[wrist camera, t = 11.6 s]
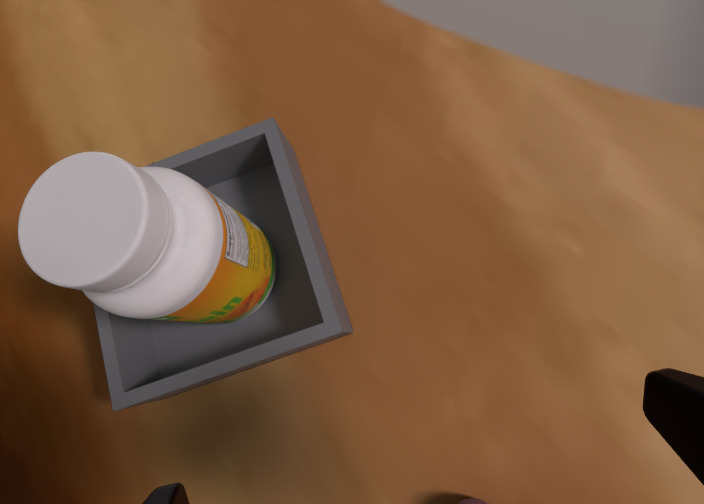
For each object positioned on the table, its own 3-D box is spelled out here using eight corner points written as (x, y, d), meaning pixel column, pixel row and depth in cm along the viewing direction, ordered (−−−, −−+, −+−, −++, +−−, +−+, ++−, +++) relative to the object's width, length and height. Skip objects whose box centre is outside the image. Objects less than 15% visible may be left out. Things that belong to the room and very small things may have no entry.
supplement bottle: (186, 336, 21) (-2, 337, 11) (170, 235, 22) (-13, 158, 12) (289, 308, 20) (184, 284, 11) (267, 206, 22) (154, 104, 12)
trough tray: (353, 332, 20) (342, 332, 17) (161, 399, 21) (113, 411, 18) (293, 150, 23) (273, 116, 19) (122, 215, 23) (73, 194, 20)
